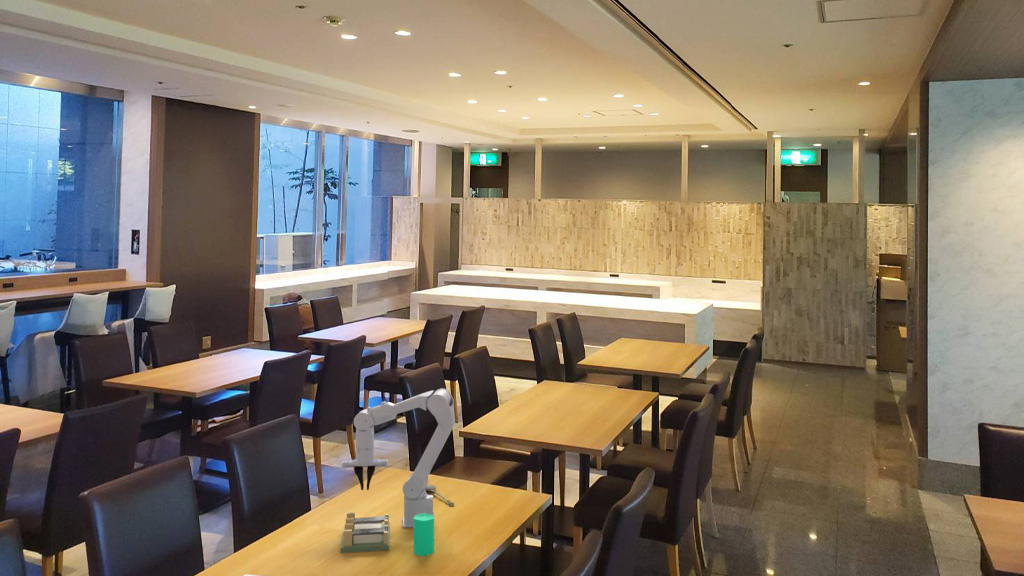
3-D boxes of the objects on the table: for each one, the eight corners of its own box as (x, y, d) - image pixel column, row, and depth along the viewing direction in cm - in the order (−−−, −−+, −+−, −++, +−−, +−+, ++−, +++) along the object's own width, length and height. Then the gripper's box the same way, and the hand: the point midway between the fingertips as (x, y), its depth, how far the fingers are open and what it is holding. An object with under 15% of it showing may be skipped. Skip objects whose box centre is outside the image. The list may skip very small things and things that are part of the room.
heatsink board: (390, 527, 238) (390, 509, 237) (389, 550, 221) (389, 530, 220) (344, 529, 236) (344, 511, 235) (340, 552, 219) (340, 532, 218)
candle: (425, 557, 216) (425, 517, 215) (409, 552, 219) (409, 512, 218) (438, 550, 221) (438, 510, 220) (422, 545, 225) (422, 506, 224)
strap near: (387, 529, 226) (387, 526, 226) (387, 533, 223) (387, 530, 223) (348, 532, 224) (348, 529, 224) (348, 536, 221) (348, 533, 221)
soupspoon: (430, 488, 277) (414, 492, 273) (429, 479, 277) (413, 483, 273) (460, 505, 259) (443, 509, 255) (459, 495, 258) (443, 499, 255)
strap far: (388, 518, 235) (387, 515, 235) (387, 521, 232) (387, 519, 232) (350, 520, 233) (350, 518, 233) (350, 524, 230) (350, 521, 230)
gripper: (388, 443, 247) (388, 483, 248) (342, 444, 244) (343, 485, 245) (387, 449, 240) (387, 491, 241) (341, 451, 237) (341, 493, 238)
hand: (365, 488), depth 243 cm, fingers closed
